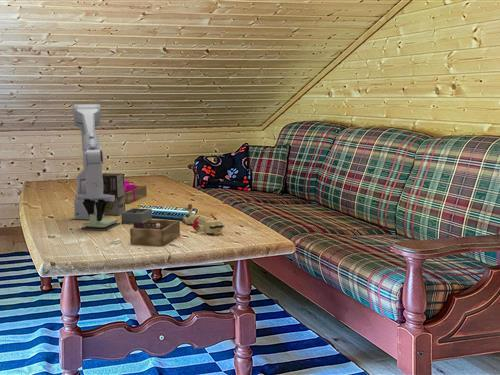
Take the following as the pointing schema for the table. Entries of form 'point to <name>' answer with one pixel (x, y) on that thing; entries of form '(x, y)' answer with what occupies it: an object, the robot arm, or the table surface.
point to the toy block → (129, 187)
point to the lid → (96, 223)
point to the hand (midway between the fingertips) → (95, 220)
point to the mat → (102, 228)
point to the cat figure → (203, 222)
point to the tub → (136, 215)
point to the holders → (151, 234)
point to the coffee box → (114, 193)
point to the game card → (141, 225)
